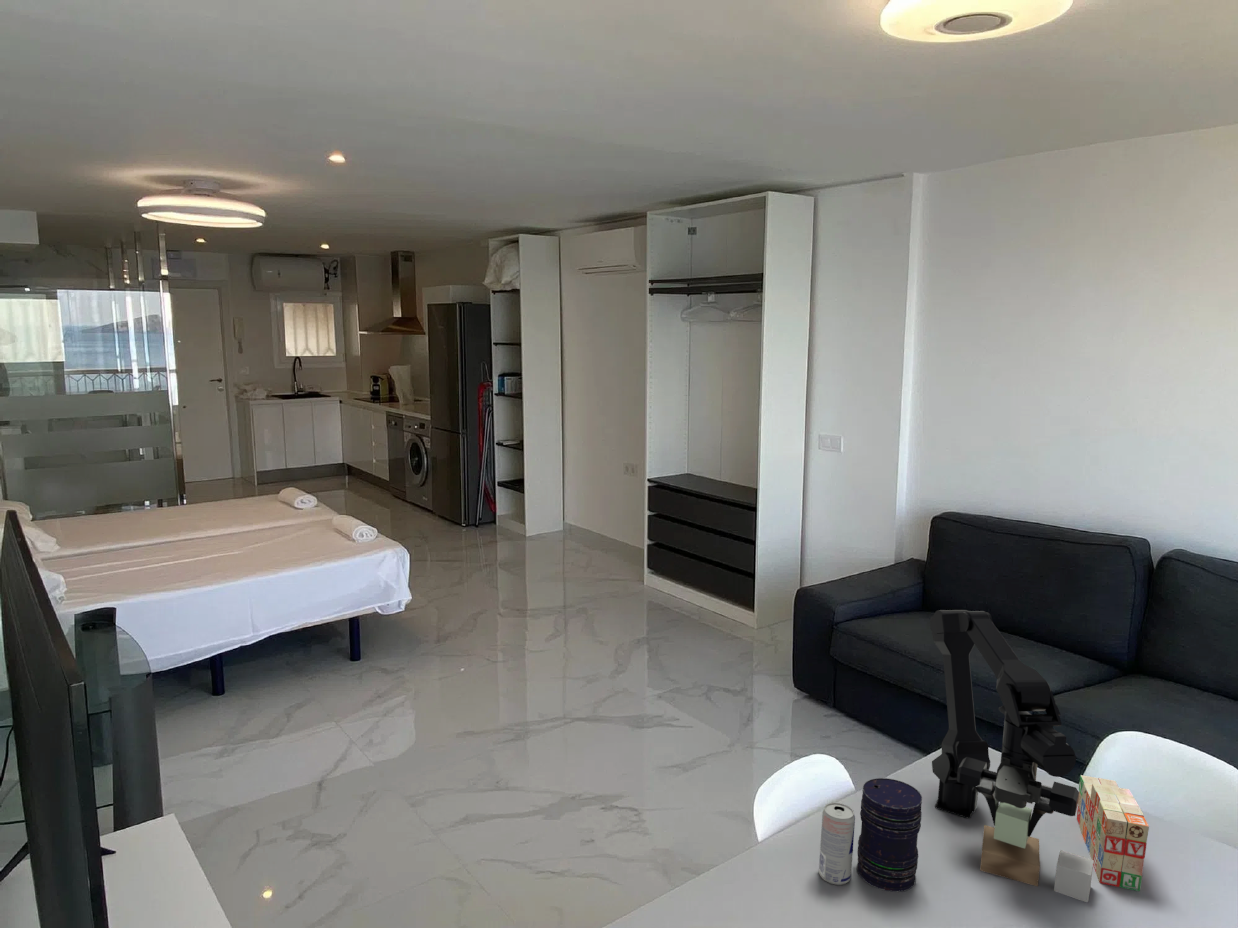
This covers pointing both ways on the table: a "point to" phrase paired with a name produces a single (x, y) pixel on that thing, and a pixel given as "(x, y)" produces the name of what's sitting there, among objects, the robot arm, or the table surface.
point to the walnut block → (1010, 858)
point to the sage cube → (1012, 824)
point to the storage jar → (889, 834)
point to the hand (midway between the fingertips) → (1012, 830)
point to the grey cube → (1073, 875)
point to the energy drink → (836, 843)
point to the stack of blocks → (1112, 831)
